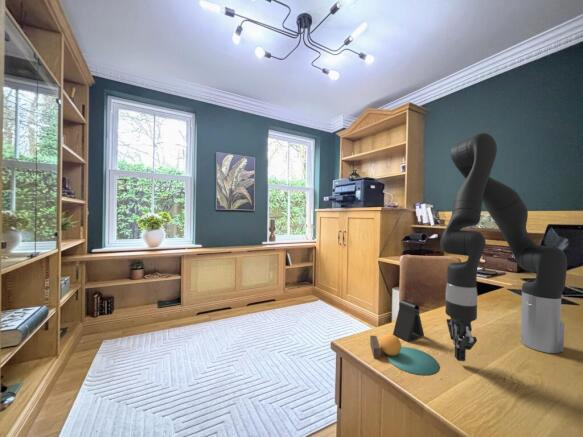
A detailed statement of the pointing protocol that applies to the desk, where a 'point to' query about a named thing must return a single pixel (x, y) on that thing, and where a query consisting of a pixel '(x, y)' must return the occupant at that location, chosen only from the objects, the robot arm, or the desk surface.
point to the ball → (390, 344)
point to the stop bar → (375, 347)
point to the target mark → (414, 361)
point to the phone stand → (408, 322)
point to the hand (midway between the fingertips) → (459, 359)
